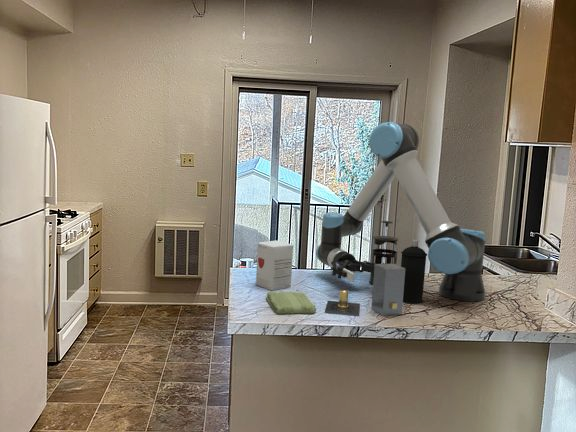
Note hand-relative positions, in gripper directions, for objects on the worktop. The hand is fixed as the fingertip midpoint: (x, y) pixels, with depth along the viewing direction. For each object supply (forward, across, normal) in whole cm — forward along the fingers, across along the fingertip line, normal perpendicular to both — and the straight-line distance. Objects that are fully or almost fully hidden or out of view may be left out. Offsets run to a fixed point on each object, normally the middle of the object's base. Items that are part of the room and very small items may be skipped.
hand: (372, 276), depth 171 cm
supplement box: (-24, +24, -9) cm, 35 cm away
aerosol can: (+1, -14, -8) cm, 17 cm away
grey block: (+10, 0, -8) cm, 13 cm away
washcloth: (-2, +27, -9) cm, 28 cm away
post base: (+5, +12, -8) cm, 16 cm away
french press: (-20, -16, -8) cm, 27 cm away
